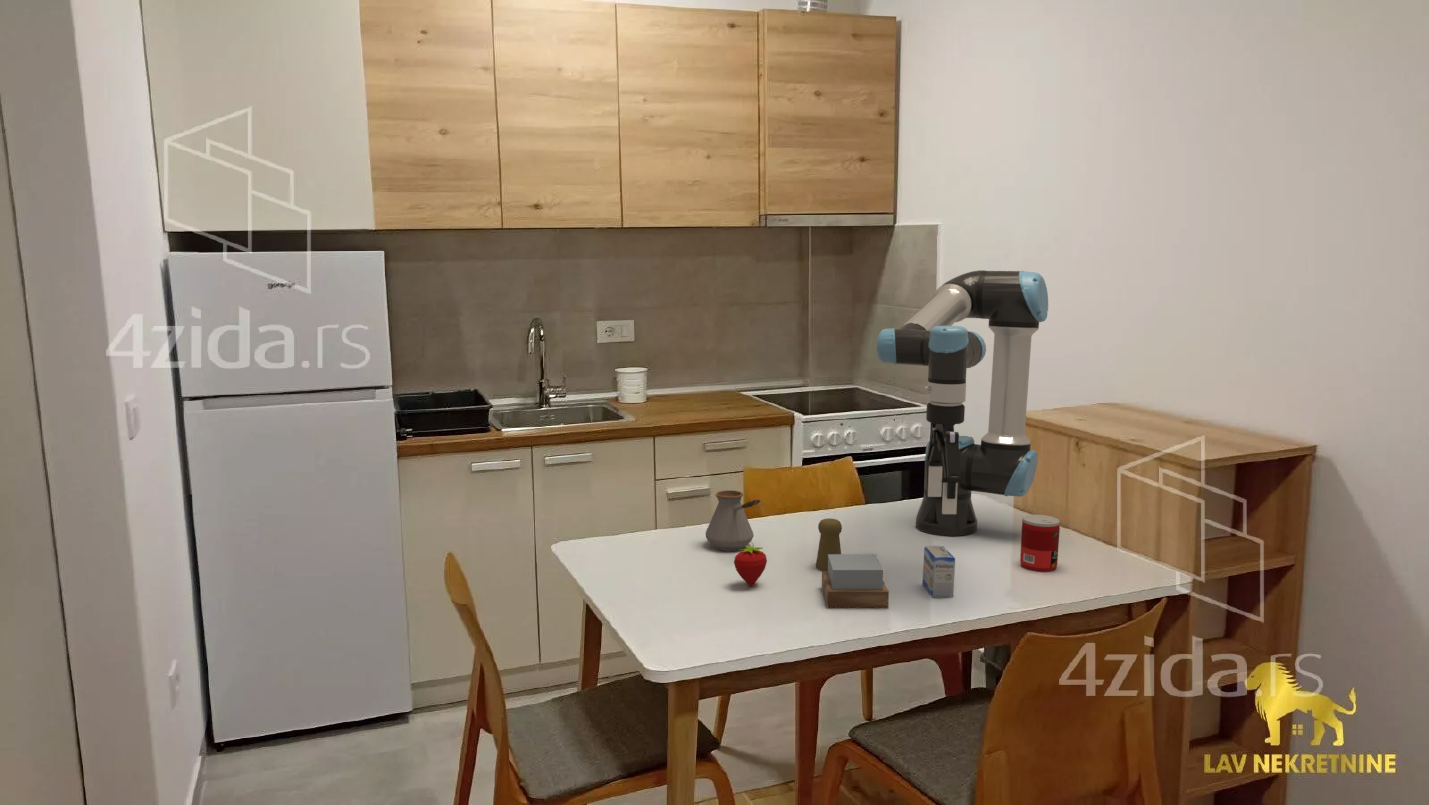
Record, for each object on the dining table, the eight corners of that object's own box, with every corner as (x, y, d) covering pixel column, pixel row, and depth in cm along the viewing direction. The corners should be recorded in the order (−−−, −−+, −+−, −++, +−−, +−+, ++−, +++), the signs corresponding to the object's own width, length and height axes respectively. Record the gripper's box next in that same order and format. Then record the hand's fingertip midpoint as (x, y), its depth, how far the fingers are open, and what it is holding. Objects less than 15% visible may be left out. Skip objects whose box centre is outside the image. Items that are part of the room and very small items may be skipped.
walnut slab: (821, 589, 215) (821, 571, 214) (878, 590, 215) (879, 571, 214) (827, 610, 203) (828, 591, 202) (888, 611, 203) (888, 591, 202)
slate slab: (827, 572, 214) (828, 554, 213) (875, 572, 213) (876, 554, 213) (832, 589, 204) (832, 570, 203) (882, 589, 204) (883, 570, 203)
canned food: (1059, 573, 224) (1062, 524, 222) (1021, 570, 226) (1024, 522, 224) (1054, 562, 231) (1057, 515, 230) (1018, 560, 233) (1020, 513, 231)
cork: (825, 573, 224) (826, 524, 222) (810, 565, 229) (811, 518, 227) (848, 569, 226) (849, 521, 224) (832, 561, 232) (833, 514, 230)
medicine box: (921, 585, 216) (923, 545, 215) (942, 584, 217) (944, 545, 215) (932, 598, 209) (934, 557, 207) (954, 597, 209) (955, 557, 208)
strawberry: (727, 585, 216) (727, 539, 214) (755, 578, 220) (756, 533, 219) (744, 593, 211) (744, 546, 210) (773, 586, 216) (773, 540, 214)
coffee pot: (697, 542, 246) (697, 481, 243) (740, 536, 250) (740, 477, 248) (736, 568, 227) (736, 503, 224) (781, 562, 231) (782, 497, 229)
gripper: (915, 393, 218) (911, 489, 222) (940, 413, 194) (936, 521, 197) (950, 393, 219) (946, 489, 222) (980, 413, 194) (975, 521, 197)
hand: (941, 505), depth 210 cm, fingers open, 13 cm apart
